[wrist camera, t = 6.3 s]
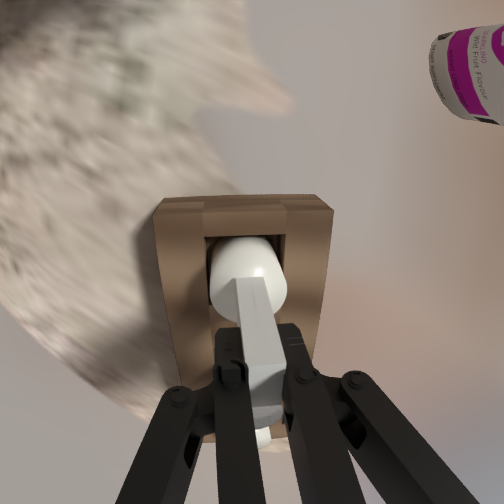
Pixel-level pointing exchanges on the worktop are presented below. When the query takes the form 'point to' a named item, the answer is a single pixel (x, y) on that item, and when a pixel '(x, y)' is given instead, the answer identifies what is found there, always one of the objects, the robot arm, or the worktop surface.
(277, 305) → the white round piece
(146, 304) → the worktop surface
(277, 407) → the middle knob
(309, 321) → the button panel
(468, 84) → the supplement can
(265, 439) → the outer button
